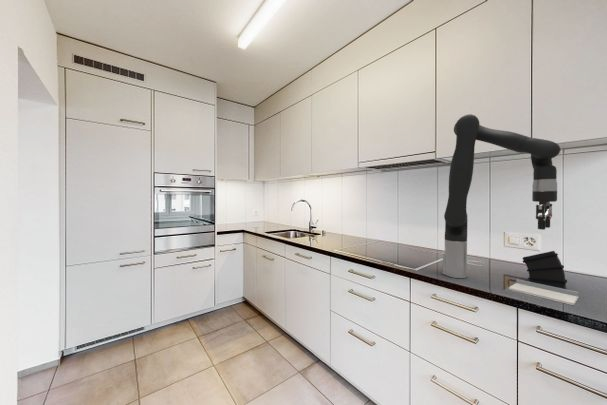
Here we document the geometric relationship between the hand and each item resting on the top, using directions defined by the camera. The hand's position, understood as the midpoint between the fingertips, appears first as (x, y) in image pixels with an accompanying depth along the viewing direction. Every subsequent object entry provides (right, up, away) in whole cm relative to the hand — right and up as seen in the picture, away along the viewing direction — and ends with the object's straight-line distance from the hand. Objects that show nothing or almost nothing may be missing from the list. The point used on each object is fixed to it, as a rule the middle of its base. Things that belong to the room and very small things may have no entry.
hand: (544, 228), depth 104 cm
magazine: (0, -25, +1) cm, 24 cm away
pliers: (-8, -24, +37) cm, 44 cm away
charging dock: (-9, -25, -8) cm, 28 cm away
